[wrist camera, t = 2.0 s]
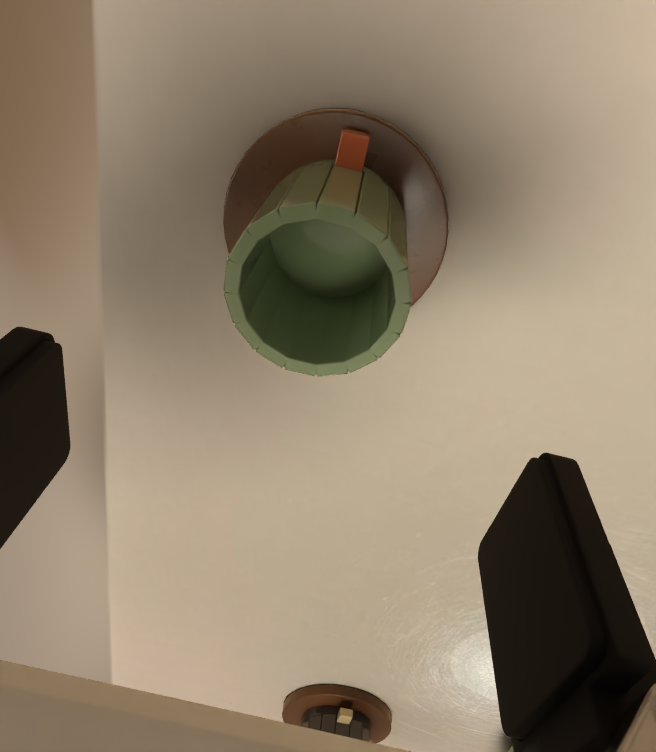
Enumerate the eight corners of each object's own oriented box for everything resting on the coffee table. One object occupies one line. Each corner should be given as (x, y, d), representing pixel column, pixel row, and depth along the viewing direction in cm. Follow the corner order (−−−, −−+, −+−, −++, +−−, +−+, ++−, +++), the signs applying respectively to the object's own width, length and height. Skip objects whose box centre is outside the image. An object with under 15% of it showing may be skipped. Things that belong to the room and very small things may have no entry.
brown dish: (218, 299, 25) (213, 307, 24) (241, 80, 19) (236, 82, 19) (409, 345, 25) (409, 354, 24) (480, 141, 20) (483, 145, 19)
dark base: (276, 725, 47) (274, 735, 47) (293, 674, 42) (292, 685, 42) (375, 746, 48) (375, 756, 47) (404, 698, 42) (405, 709, 42)
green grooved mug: (253, 283, 23) (216, 353, 18) (278, 107, 19) (239, 138, 14) (384, 315, 23) (382, 392, 18) (436, 147, 19) (450, 190, 15)
